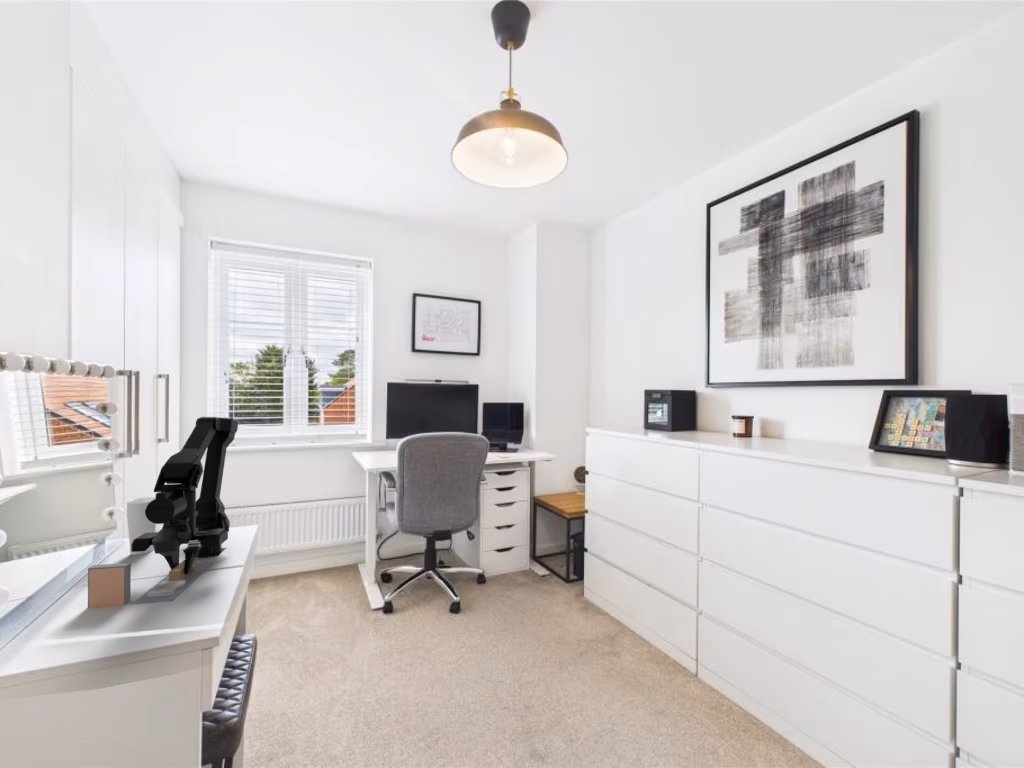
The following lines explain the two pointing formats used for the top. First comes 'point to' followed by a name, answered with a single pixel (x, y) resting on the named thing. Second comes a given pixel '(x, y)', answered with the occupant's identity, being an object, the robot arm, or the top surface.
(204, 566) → the mat
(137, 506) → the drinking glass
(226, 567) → the top surface
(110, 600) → the tile
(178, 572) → the turner
